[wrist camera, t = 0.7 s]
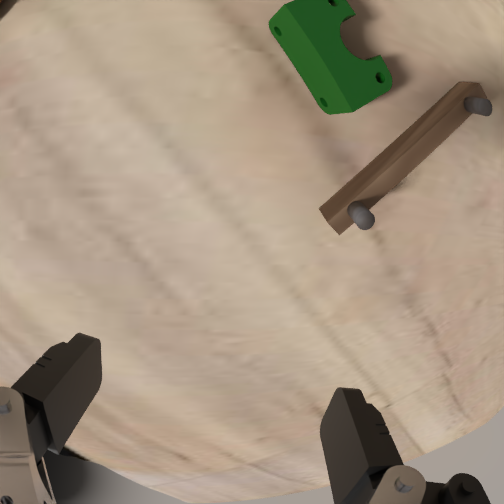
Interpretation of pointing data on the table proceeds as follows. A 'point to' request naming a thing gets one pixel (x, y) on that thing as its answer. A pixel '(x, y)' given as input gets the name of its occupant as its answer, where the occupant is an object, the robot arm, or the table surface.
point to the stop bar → (403, 157)
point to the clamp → (328, 55)
